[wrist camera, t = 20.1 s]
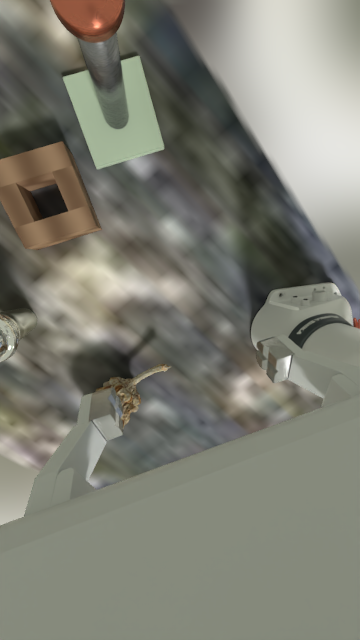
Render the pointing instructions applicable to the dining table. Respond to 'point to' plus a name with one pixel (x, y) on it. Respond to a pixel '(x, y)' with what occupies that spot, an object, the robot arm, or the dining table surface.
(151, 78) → the dining table surface
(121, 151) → the mat
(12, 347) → the cup with straw
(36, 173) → the collar
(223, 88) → the dining table surface
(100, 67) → the peg
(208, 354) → the dining table surface
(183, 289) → the dining table surface
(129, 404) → the pine cone
